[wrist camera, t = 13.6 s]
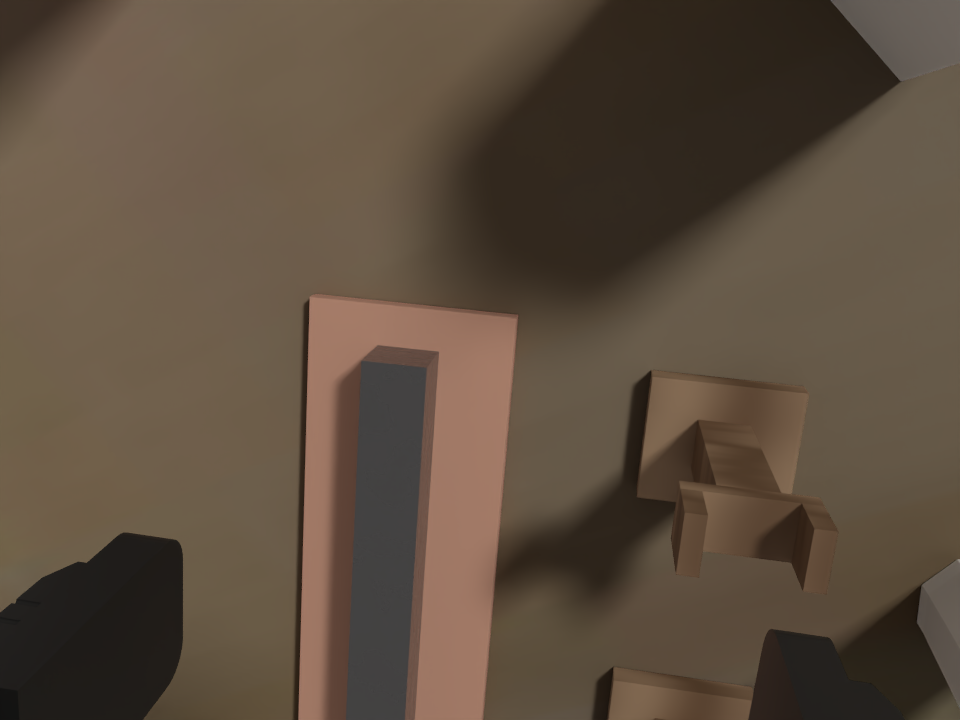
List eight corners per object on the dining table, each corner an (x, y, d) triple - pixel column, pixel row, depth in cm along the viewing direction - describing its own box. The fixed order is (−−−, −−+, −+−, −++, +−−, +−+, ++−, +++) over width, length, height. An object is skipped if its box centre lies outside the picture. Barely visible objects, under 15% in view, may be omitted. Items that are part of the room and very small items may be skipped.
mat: (301, 778, 52) (296, 788, 51) (314, 293, 45) (309, 296, 44) (475, 808, 51) (473, 818, 50) (518, 314, 44) (516, 318, 43)
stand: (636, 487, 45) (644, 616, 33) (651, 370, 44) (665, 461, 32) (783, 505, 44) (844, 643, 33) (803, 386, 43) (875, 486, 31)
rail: (357, 768, 50) (342, 807, 48) (377, 345, 44) (361, 360, 41) (411, 777, 50) (398, 817, 47) (439, 351, 44) (427, 367, 41)
